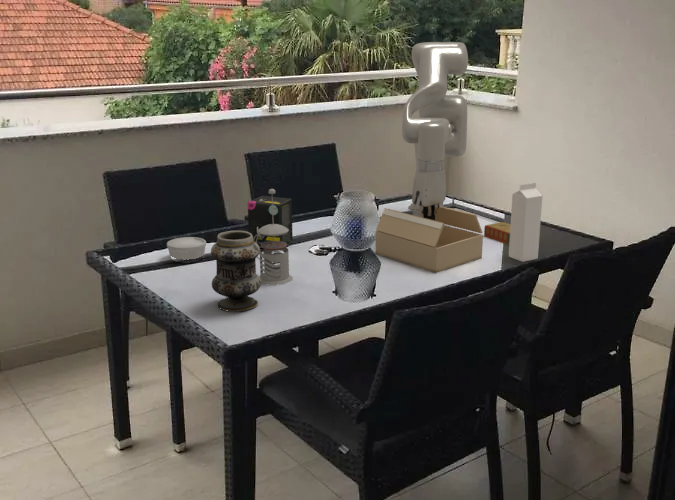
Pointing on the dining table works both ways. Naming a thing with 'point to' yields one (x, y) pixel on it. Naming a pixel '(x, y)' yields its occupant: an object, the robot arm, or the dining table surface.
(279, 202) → the tampon box
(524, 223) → the milk
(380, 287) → the dining table surface
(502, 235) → the carton
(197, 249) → the ramekin
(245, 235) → the apothecary jar
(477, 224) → the far flap
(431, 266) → the kraft box
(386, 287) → the dining table surface
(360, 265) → the dining table surface
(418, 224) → the near flap
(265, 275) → the french press
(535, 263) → the dining table surface
